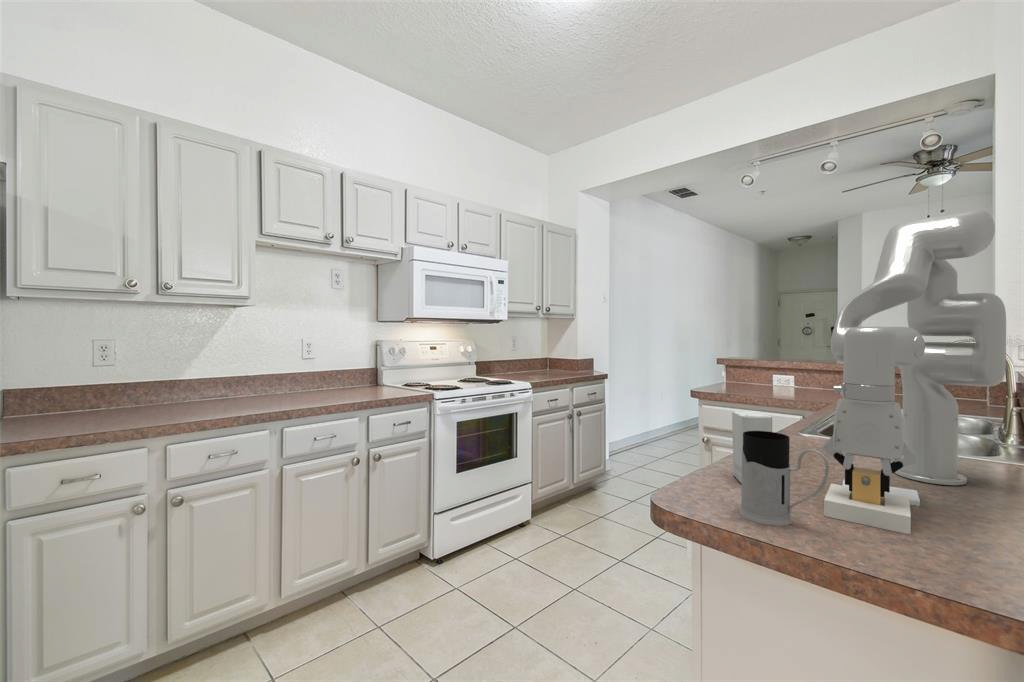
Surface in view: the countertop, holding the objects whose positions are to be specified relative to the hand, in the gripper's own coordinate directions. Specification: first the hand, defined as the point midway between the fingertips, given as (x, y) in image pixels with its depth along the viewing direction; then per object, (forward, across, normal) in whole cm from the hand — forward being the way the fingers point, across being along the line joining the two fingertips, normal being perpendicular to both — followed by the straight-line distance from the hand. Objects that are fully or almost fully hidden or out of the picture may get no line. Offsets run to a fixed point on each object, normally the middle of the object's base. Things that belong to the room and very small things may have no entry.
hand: (866, 491), depth 84 cm
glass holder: (+5, -12, -13) cm, 18 cm away
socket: (+4, 0, 0) cm, 4 cm away
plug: (+2, 0, 0) cm, 2 cm away
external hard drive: (+5, +2, +16) cm, 17 cm away
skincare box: (+5, -21, +7) cm, 23 cm away
